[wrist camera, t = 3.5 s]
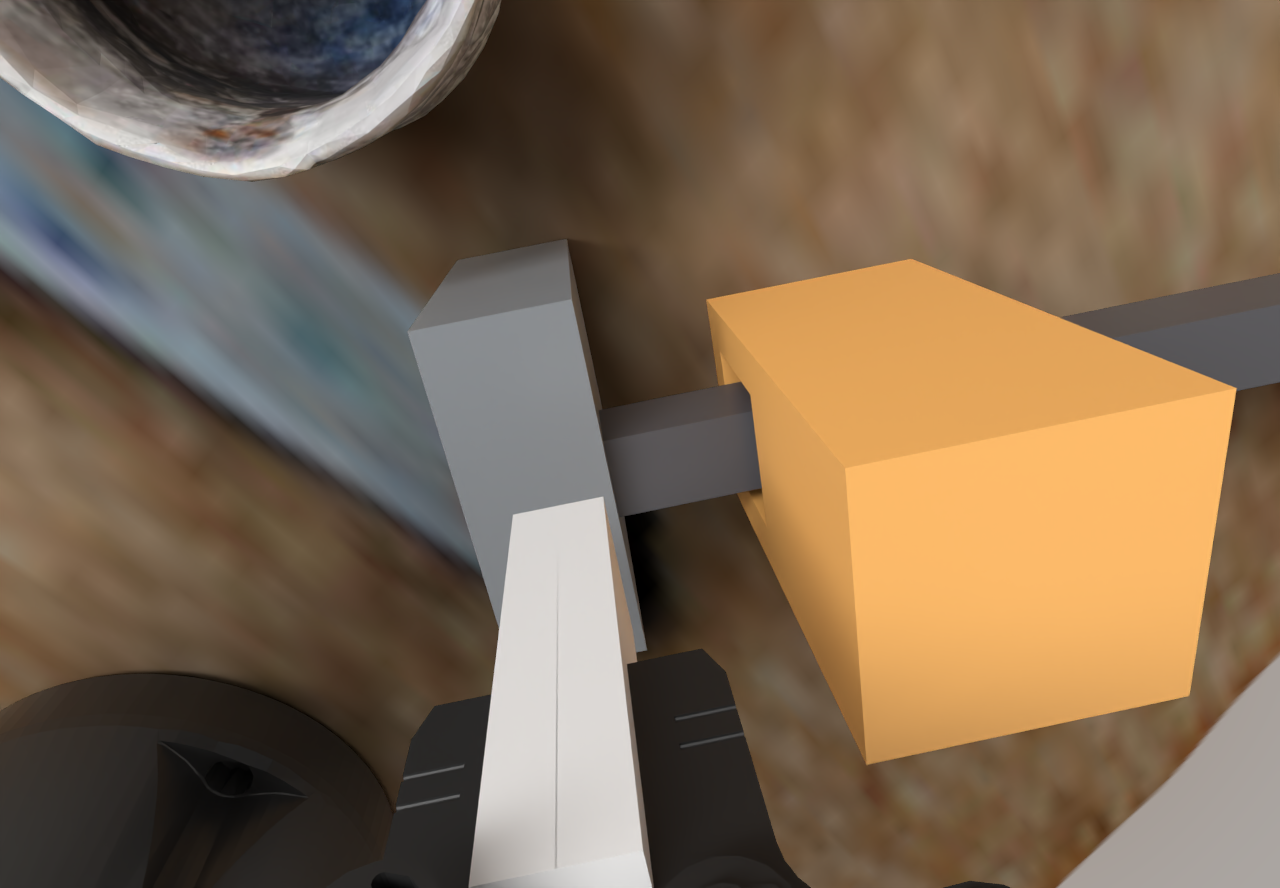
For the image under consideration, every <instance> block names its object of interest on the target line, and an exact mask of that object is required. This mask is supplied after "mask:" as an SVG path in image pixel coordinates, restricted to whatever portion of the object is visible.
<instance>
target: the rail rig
mask: <svg viewBox="0 0 1280 888" xmlns="http://www.w3.org/2000/svg"><path fill="white" fill-rule="evenodd" d="M1060 318H1061V319H1064V320H1066V321H1069V322H1071V323H1074V324H1076V325H1079V326H1081V327H1084V328H1086V329H1089V330H1091V331H1094V332H1096V333H1099V334H1102V335H1104V336H1107V337H1109V338H1112V339H1114V340H1117V341H1119V342H1122V343H1124V344H1127V345H1129V346H1132V347H1134V348H1137V349H1139V350H1142V351H1144V352H1147V353H1149V354H1152V355H1154V356H1157V357H1159V358H1162V359H1164V360H1167V361H1169V362H1172V363H1174V364H1177V365H1179V366H1182V367H1185V368H1187V369H1190V370H1192V371H1195V372H1197V373H1200V374H1202V375H1205V376H1207V377H1210V378H1212V379H1215V380H1217V381H1220V382H1222V383H1225V384H1227V385H1230V386H1232V387H1235V388H1237V389H1236V391H1239V390H1244V389H1249V388H1254V387H1259V386H1264V385H1268V384H1273V383H1278V382H1280V273H1278V274H1273V275H1268V276H1263V277H1258V278H1254V279H1249V280H1244V281H1239V282H1234V283H1229V284H1224V285H1219V286H1214V287H1209V288H1204V289H1199V290H1194V291H1189V292H1184V293H1179V294H1174V295H1169V296H1164V297H1159V298H1154V299H1149V300H1144V301H1139V302H1134V303H1129V304H1124V305H1119V306H1114V307H1109V308H1104V309H1099V310H1094V311H1089V312H1085V313H1080V314H1075V315H1070V316H1065V317H1060ZM408 335H409V339H410V342H411V345H412V348H413V351H414V355H415V358H416V361H417V364H418V368H419V371H420V374H421V377H422V381H423V384H424V387H425V390H426V394H427V397H428V400H429V403H430V407H431V410H432V413H433V416H434V420H435V423H436V426H437V429H438V432H439V436H440V439H441V442H442V445H443V449H444V452H445V455H446V458H447V462H448V465H449V468H450V471H451V475H452V478H453V481H454V484H455V488H456V491H457V494H458V497H459V500H460V504H461V507H462V510H463V513H464V517H465V520H466V523H467V526H468V530H469V533H470V536H471V539H472V543H473V546H474V549H475V552H476V556H477V559H478V562H479V565H480V569H481V572H482V575H483V578H484V581H485V585H486V588H487V591H488V594H489V598H490V601H491V604H492V607H493V611H494V614H495V617H496V620H497V624H498V627H499V628H500V619H501V611H502V602H503V594H504V586H505V577H506V569H507V561H508V552H509V544H510V535H511V527H512V519H513V515H514V514H519V513H524V512H529V511H534V510H539V509H544V508H549V507H554V506H559V505H564V504H569V503H573V502H578V501H583V500H588V499H593V498H598V497H603V498H604V502H605V507H606V511H607V516H608V521H609V525H610V530H611V534H612V539H613V543H614V548H615V552H616V557H617V561H618V566H619V570H620V575H621V579H622V584H623V588H624V593H625V598H626V602H627V607H628V611H629V616H630V620H631V625H632V629H633V636H634V643H635V650H636V652H640V651H645V650H647V648H646V642H645V636H644V630H643V624H642V618H641V612H640V606H639V601H638V595H637V589H636V583H635V577H634V571H633V565H632V559H631V553H630V547H629V542H628V536H627V530H626V524H625V518H624V516H628V515H633V514H638V513H643V512H647V511H652V510H657V509H662V508H667V507H672V506H677V505H682V504H687V503H691V502H696V501H701V500H706V499H711V498H716V497H721V496H726V495H731V494H735V493H740V492H745V491H750V490H755V489H760V488H762V485H761V477H760V469H759V461H758V452H757V444H756V436H755V428H754V420H753V412H752V404H751V396H750V394H749V392H748V391H747V389H746V388H745V386H744V385H743V384H742V382H737V383H732V384H727V385H722V386H717V387H712V388H707V389H702V390H697V391H692V392H687V393H682V394H677V395H672V396H667V397H662V398H657V399H652V400H647V401H642V402H637V403H632V404H627V405H622V406H617V407H612V408H607V409H602V404H601V400H600V395H599V390H598V385H597V381H596V376H595V371H594V366H593V362H592V357H591V352H590V347H589V343H588V338H587V333H586V328H585V323H584V319H583V314H582V309H581V304H580V300H579V295H578V290H577V285H576V281H575V276H574V271H573V266H572V262H571V257H570V252H569V247H568V242H567V239H563V240H558V241H553V242H548V243H543V244H538V245H533V246H527V247H522V248H517V249H512V250H507V251H502V252H497V253H492V254H487V255H482V256H476V257H471V258H466V259H461V260H457V261H456V263H455V264H454V266H453V267H452V269H451V270H450V271H449V273H448V274H447V276H446V277H445V279H444V280H443V281H442V283H441V284H440V286H439V287H438V289H437V290H436V291H435V293H434V294H433V296H432V297H431V299H430V300H429V302H428V303H427V304H426V306H425V307H424V309H423V310H422V312H421V313H420V314H419V316H418V317H417V319H416V320H415V322H414V323H413V324H412V326H411V327H410V329H409V330H408Z"/></svg>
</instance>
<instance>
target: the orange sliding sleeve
mask: <svg viewBox="0 0 1280 888" xmlns="http://www.w3.org/2000/svg"><path fill="white" fill-rule="evenodd" d="M706 301H707V308H708V315H709V322H710V330H711V337H712V344H713V351H714V358H715V365H716V372H717V379H718V386H722V385H727V384H732V383H737V382H742V384H743V385H744V386H745V388H746V389H747V391H748V392H749V394H750V396H751V404H752V412H753V420H754V428H755V436H756V444H757V452H758V461H759V469H760V477H761V485H762V488H760V489H755V490H750V491H745V492H740V493H737V495H738V497H739V500H740V502H741V504H742V506H743V508H744V510H745V512H746V514H747V516H748V518H749V520H750V523H751V525H752V527H753V529H754V531H755V533H756V535H757V537H758V539H759V541H760V543H761V545H762V548H763V550H764V552H765V554H766V556H767V558H768V560H769V562H770V564H771V566H772V568H773V571H774V573H775V575H776V577H777V579H778V581H779V583H780V585H781V587H782V589H783V591H784V593H785V596H786V598H787V600H788V602H789V604H790V606H791V608H792V610H793V612H794V614H795V616H796V619H797V621H798V623H799V625H800V627H801V629H802V631H803V633H804V635H805V637H806V639H807V641H808V644H809V646H810V648H811V650H812V652H813V654H814V656H815V658H816V660H817V662H818V664H819V667H820V669H821V671H822V673H823V675H824V677H825V679H826V681H827V683H828V685H829V687H830V689H831V692H832V694H833V696H834V698H835V700H836V702H837V704H838V706H839V708H840V710H841V712H842V715H843V717H844V719H845V721H846V723H847V725H848V727H849V729H850V731H851V733H852V735H853V737H854V740H855V742H856V744H857V746H858V748H859V750H860V752H861V754H862V756H863V758H864V760H865V763H866V765H868V764H873V763H877V762H882V761H887V760H891V759H896V758H901V757H906V756H910V755H915V754H920V753H924V752H929V751H934V750H938V749H943V748H948V747H952V746H957V745H962V744H966V743H971V742H976V741H980V740H985V739H990V738H995V737H999V736H1004V735H1009V734H1013V733H1018V732H1023V731H1027V730H1032V729H1037V728H1041V727H1046V726H1051V725H1055V724H1060V723H1065V722H1069V721H1074V720H1079V719H1084V718H1088V717H1093V716H1098V715H1102V714H1107V713H1112V712H1116V711H1121V710H1126V709H1130V708H1135V707H1140V706H1144V705H1149V704H1154V703H1158V702H1163V701H1168V700H1173V699H1177V698H1182V697H1187V696H1189V694H1190V688H1191V681H1192V675H1193V668H1194V662H1195V655H1196V649H1197V642H1198V636H1199V629H1200V623H1201V616H1202V610H1203V603H1204V597H1205V590H1206V584H1207V577H1208V571H1209V564H1210V558H1211V551H1212V545H1213V538H1214V532H1215V525H1216V519H1217V512H1218V506H1219V499H1220V493H1221V486H1222V480H1223V473H1224V467H1225V460H1226V454H1227V447H1228V441H1229V434H1230V428H1231V421H1232V415H1233V408H1234V402H1235V395H1236V389H1237V388H1235V387H1232V386H1230V385H1227V384H1225V383H1222V382H1220V381H1217V380H1215V379H1212V378H1210V377H1207V376H1205V375H1202V374H1200V373H1197V372H1195V371H1192V370H1190V369H1187V368H1185V367H1182V366H1179V365H1177V364H1174V363H1172V362H1169V361H1167V360H1164V359H1162V358H1159V357H1157V356H1154V355H1152V354H1149V353H1147V352H1144V351H1142V350H1139V349H1137V348H1134V347H1132V346H1129V345H1127V344H1124V343H1122V342H1119V341H1117V340H1114V339H1112V338H1109V337H1107V336H1104V335H1102V334H1099V333H1096V332H1094V331H1091V330H1089V329H1086V328H1084V327H1081V326H1079V325H1076V324H1074V323H1071V322H1069V321H1066V320H1064V319H1061V318H1059V317H1056V316H1054V315H1051V314H1049V313H1046V312H1044V311H1041V310H1039V309H1036V308H1034V307H1031V306H1029V305H1026V304H1024V303H1021V302H1019V301H1016V300H1013V299H1011V298H1008V297H1006V296H1003V295H1001V294H998V293H996V292H993V291H991V290H988V289H986V288H983V287H981V286H978V285H976V284H973V283H971V282H968V281H966V280H963V279H961V278H958V277H956V276H953V275H951V274H948V273H946V272H943V271H941V270H938V269H935V268H933V267H930V266H928V265H925V264H923V263H920V262H918V261H915V260H913V259H909V260H904V261H899V262H893V263H888V264H883V265H878V266H873V267H868V268H863V269H858V270H853V271H848V272H843V273H838V274H833V275H828V276H823V277H818V278H813V279H808V280H803V281H798V282H793V283H788V284H783V285H778V286H773V287H768V288H763V289H757V290H752V291H747V292H742V293H737V294H732V295H727V296H722V297H717V298H712V299H707V300H706Z"/></svg>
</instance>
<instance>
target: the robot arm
mask: <svg viewBox="0 0 1280 888" xmlns="http://www.w3.org/2000/svg"><path fill="white" fill-rule="evenodd" d="M403 777H404V782H401V786H400V790H399V794H398V798H397V802H396V809H397V810H396V813H394V815H393V814H392V810H391V808H390V805H389V802H388V800H387V798H386V796H385V794H384V791H383V789H382V788H381V786H380V784H379V783H378V781H377V779H376V778H375V776H374V775H373V774H372V772H371V771H370V769H369V768H368V767H367V765H366V764H365V763H364V762H363V761H362V760H361V759H360V757H359V756H358V755H357V754H356V753H355V752H354V751H353V750H352V749H351V748H350V747H349V746H348V745H346V744H345V743H344V742H343V741H342V740H341V739H339V738H338V737H337V736H336V735H335V734H333V733H332V732H331V731H329V730H328V729H326V728H325V727H324V726H322V725H321V724H319V723H318V722H316V721H314V720H313V719H311V718H310V717H308V716H306V715H304V714H303V713H301V712H299V711H297V710H295V709H293V708H291V707H289V706H287V705H285V704H283V703H281V702H279V701H276V700H274V699H271V698H269V697H266V696H264V695H261V694H258V693H255V692H252V691H249V690H247V689H243V688H240V687H236V686H233V685H229V684H225V683H220V682H216V681H211V680H206V679H200V678H194V677H186V676H177V675H164V674H123V675H111V676H102V677H95V678H89V679H83V680H78V681H74V682H70V683H66V684H62V685H58V686H55V687H52V688H49V689H46V690H43V691H40V692H38V693H35V694H33V695H30V696H28V697H26V698H24V699H22V700H20V701H17V702H15V703H14V704H12V705H10V706H8V707H7V708H5V709H3V710H1V711H0V888H811V887H809V886H808V885H807V884H806V883H804V882H803V881H802V880H801V879H799V878H798V877H797V876H796V874H795V873H794V872H793V870H792V869H791V868H790V867H789V865H788V864H787V863H786V862H785V860H784V858H783V856H782V854H781V851H780V849H779V847H778V845H777V842H776V839H775V836H774V833H773V829H772V826H771V822H770V819H769V816H768V812H767V809H766V806H765V802H764V799H763V796H762V792H761V789H760V785H759V782H758V779H757V775H756V772H755V769H754V765H753V762H752V759H751V755H750V752H749V749H748V745H747V742H746V738H745V737H744V733H743V728H742V725H741V722H740V718H739V715H738V712H737V710H736V706H735V701H734V698H733V695H732V691H731V688H730V685H729V681H728V678H727V675H726V672H725V671H724V670H723V669H722V668H721V667H720V666H719V665H718V664H717V663H716V662H715V661H714V660H713V659H712V658H711V657H710V656H709V655H708V654H707V653H706V652H705V651H704V650H703V649H698V650H693V651H688V652H683V653H678V654H673V655H669V656H664V657H659V658H654V659H649V660H644V661H639V662H637V657H636V650H635V643H634V636H633V629H632V625H631V620H630V616H629V611H628V607H627V602H626V598H625V593H624V588H623V584H622V579H621V575H620V570H619V566H618V561H617V557H616V552H615V548H614V543H613V539H612V534H611V530H610V525H609V521H608V516H607V511H606V507H605V502H604V498H603V497H598V498H593V499H588V500H583V501H578V502H573V503H569V504H564V505H559V506H554V507H549V508H544V509H539V510H534V511H529V512H524V513H519V514H514V515H513V519H512V527H511V535H510V544H509V552H508V561H507V569H506V577H505V586H504V594H503V602H502V611H501V619H500V628H499V636H498V644H497V653H496V661H495V669H494V678H493V686H492V694H491V695H487V696H482V697H477V698H472V699H467V700H463V701H458V702H453V703H448V704H443V705H438V706H434V708H433V709H432V711H431V712H430V714H429V715H428V716H427V718H426V719H425V721H424V722H423V724H422V725H421V727H420V728H419V730H418V731H417V732H416V734H415V735H414V737H413V738H412V740H411V744H410V748H409V752H408V756H407V761H406V765H405V769H404V773H403ZM944 888H1010V887H1008V886H1005V885H1001V884H992V883H984V882H975V881H968V882H964V883H960V884H956V885H952V886H948V887H944Z"/></svg>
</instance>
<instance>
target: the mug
mask: <svg viewBox="0 0 1280 888" xmlns="http://www.w3.org/2000/svg"><path fill="white" fill-rule="evenodd" d="M500 4H501V0H0V78H2V79H3V80H4V81H6V82H7V83H8V84H10V85H11V86H12V87H14V88H15V89H16V90H18V91H19V92H21V93H22V94H23V95H25V96H26V97H28V98H29V99H31V100H32V101H34V102H35V103H37V104H38V105H40V106H41V107H43V108H44V109H46V110H47V111H49V112H50V113H52V114H53V115H55V116H56V117H58V118H59V119H61V120H62V121H64V122H65V123H66V124H68V125H69V126H71V127H72V128H74V129H75V130H76V131H78V132H79V133H81V134H82V135H84V136H85V137H87V138H88V139H89V140H91V141H92V142H94V143H95V144H97V145H99V146H102V147H104V148H107V149H110V150H113V151H115V152H118V153H121V154H123V155H126V156H129V157H133V158H136V159H139V160H143V161H146V162H149V163H152V164H156V165H159V166H162V167H166V168H169V169H173V170H178V171H182V172H186V173H190V174H195V175H199V176H203V177H212V178H221V179H231V180H241V181H251V182H253V181H260V180H267V179H274V178H281V177H286V176H290V175H293V174H296V173H299V172H303V171H306V170H309V169H311V168H313V167H316V166H318V165H321V164H324V163H326V162H329V161H332V160H335V159H338V158H340V157H342V156H345V155H347V154H349V153H351V152H354V151H356V150H358V149H360V148H362V147H365V146H367V145H368V144H370V143H372V142H374V141H375V140H377V139H379V138H380V137H382V136H384V135H385V134H387V133H389V132H390V131H393V130H396V129H399V128H401V127H403V126H405V125H407V124H409V123H411V122H413V121H415V120H417V119H419V118H421V117H423V116H425V115H426V114H427V113H429V112H430V111H431V110H432V109H433V108H434V107H436V106H437V105H438V104H439V103H440V102H442V101H443V100H444V99H445V98H446V97H447V96H448V95H449V94H450V93H451V91H452V90H453V89H454V88H455V87H456V86H457V85H458V84H459V83H460V82H461V81H462V80H463V79H464V78H465V76H466V75H467V73H468V72H469V70H470V69H471V67H472V66H473V64H474V63H475V61H476V60H477V58H478V57H479V55H480V53H481V52H482V50H483V49H484V47H485V44H486V42H487V40H488V37H489V35H490V33H491V30H492V28H493V25H494V23H495V21H496V18H497V16H498V14H499V10H500Z"/></svg>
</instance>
